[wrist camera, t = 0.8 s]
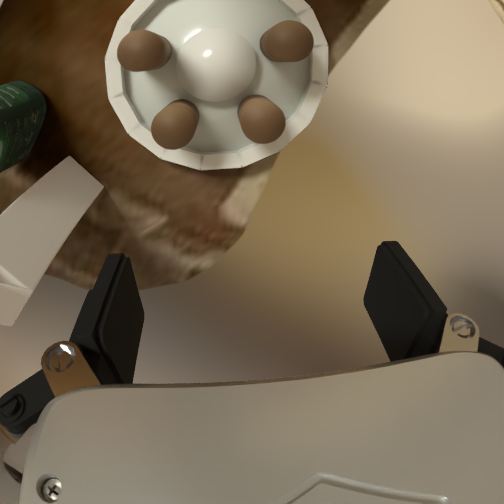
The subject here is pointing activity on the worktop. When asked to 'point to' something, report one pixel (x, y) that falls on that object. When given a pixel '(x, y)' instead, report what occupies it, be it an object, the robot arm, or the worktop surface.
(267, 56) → the brown round peg
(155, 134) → the seated bead
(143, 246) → the worktop surface
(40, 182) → the milk
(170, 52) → the brown cylinder
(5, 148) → the coffee jar
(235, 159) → the groove tray
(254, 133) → the brown round peg
